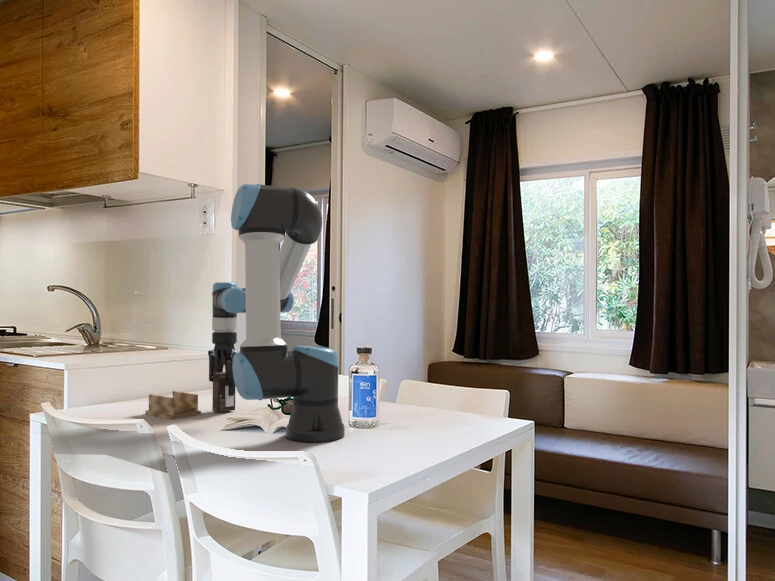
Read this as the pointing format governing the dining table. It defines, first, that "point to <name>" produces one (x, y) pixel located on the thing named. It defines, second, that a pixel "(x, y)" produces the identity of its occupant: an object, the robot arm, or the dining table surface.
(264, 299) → the robot arm
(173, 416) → the holder
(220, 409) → the box
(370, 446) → the dining table surface
